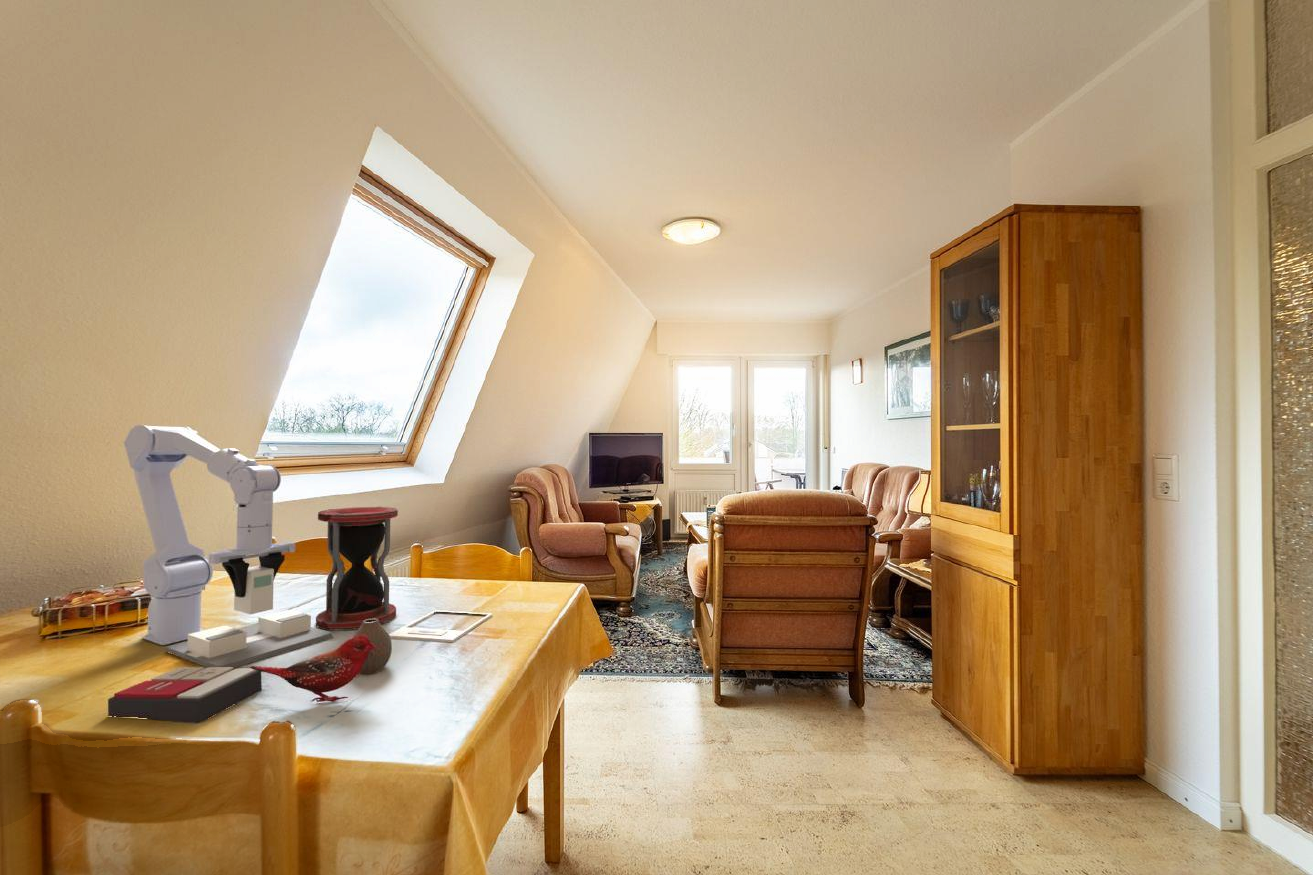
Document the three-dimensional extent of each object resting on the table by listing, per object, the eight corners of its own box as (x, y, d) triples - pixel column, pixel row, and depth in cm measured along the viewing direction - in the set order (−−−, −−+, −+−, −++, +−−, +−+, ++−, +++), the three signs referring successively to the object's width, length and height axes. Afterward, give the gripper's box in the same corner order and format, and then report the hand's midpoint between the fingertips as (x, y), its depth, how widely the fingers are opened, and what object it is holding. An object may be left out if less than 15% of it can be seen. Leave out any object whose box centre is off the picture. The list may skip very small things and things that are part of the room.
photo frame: (386, 634, 113) (435, 609, 131) (386, 639, 113) (435, 614, 131) (452, 638, 111) (492, 612, 128) (452, 644, 111) (492, 617, 128)
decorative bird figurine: (373, 701, 84) (374, 636, 85) (243, 712, 81) (245, 644, 81) (378, 693, 87) (380, 630, 87) (253, 703, 83) (255, 638, 84)
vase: (346, 681, 92) (347, 628, 92) (348, 666, 98) (349, 617, 98) (391, 673, 95) (392, 623, 95) (390, 660, 101) (391, 612, 101)
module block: (234, 610, 108) (235, 569, 108) (256, 604, 112) (257, 565, 112) (250, 614, 105) (251, 572, 106) (273, 609, 109) (274, 568, 109)
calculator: (179, 664, 90) (262, 664, 89) (180, 690, 90) (263, 691, 88) (105, 693, 79) (198, 694, 78) (106, 723, 79) (199, 724, 78)
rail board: (165, 651, 104) (165, 629, 104) (278, 622, 122) (278, 603, 122) (219, 672, 95) (219, 647, 95) (332, 637, 113) (333, 617, 113)
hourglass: (349, 607, 134) (351, 505, 135) (410, 610, 132) (412, 507, 132) (297, 628, 118) (300, 513, 119) (365, 632, 116) (368, 514, 116)
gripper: (223, 531, 101) (221, 605, 100) (304, 522, 114) (302, 588, 113) (203, 529, 104) (202, 600, 104) (284, 520, 117) (283, 584, 117)
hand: (253, 593), depth 109 cm, fingers closed on module block, 4 cm apart
